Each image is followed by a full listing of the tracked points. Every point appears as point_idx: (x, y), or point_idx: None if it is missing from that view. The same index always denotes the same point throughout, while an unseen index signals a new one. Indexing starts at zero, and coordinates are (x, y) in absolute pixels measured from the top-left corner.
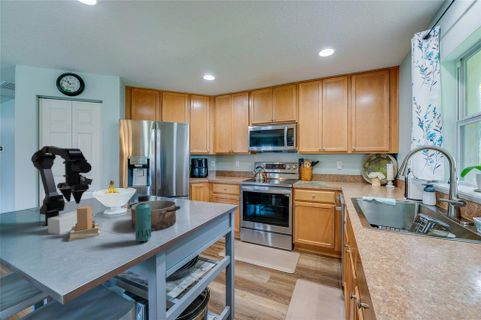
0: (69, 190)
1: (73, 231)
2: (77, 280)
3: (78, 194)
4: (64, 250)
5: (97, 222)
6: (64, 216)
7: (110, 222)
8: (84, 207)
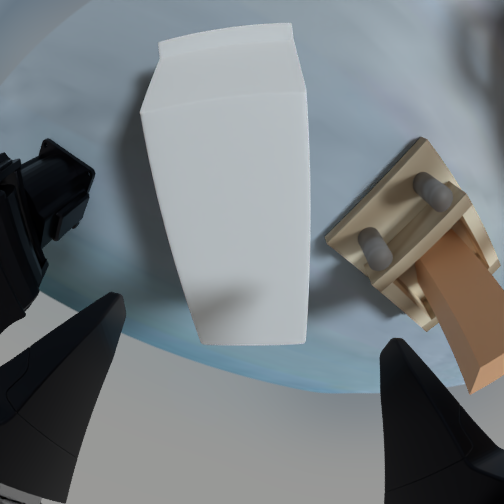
0: (21, 455)
1: (427, 319)
2: None
3: (444, 467)
4: (438, 342)
5: (467, 196)
6: (265, 300)
7: (424, 50)
8: (500, 367)
